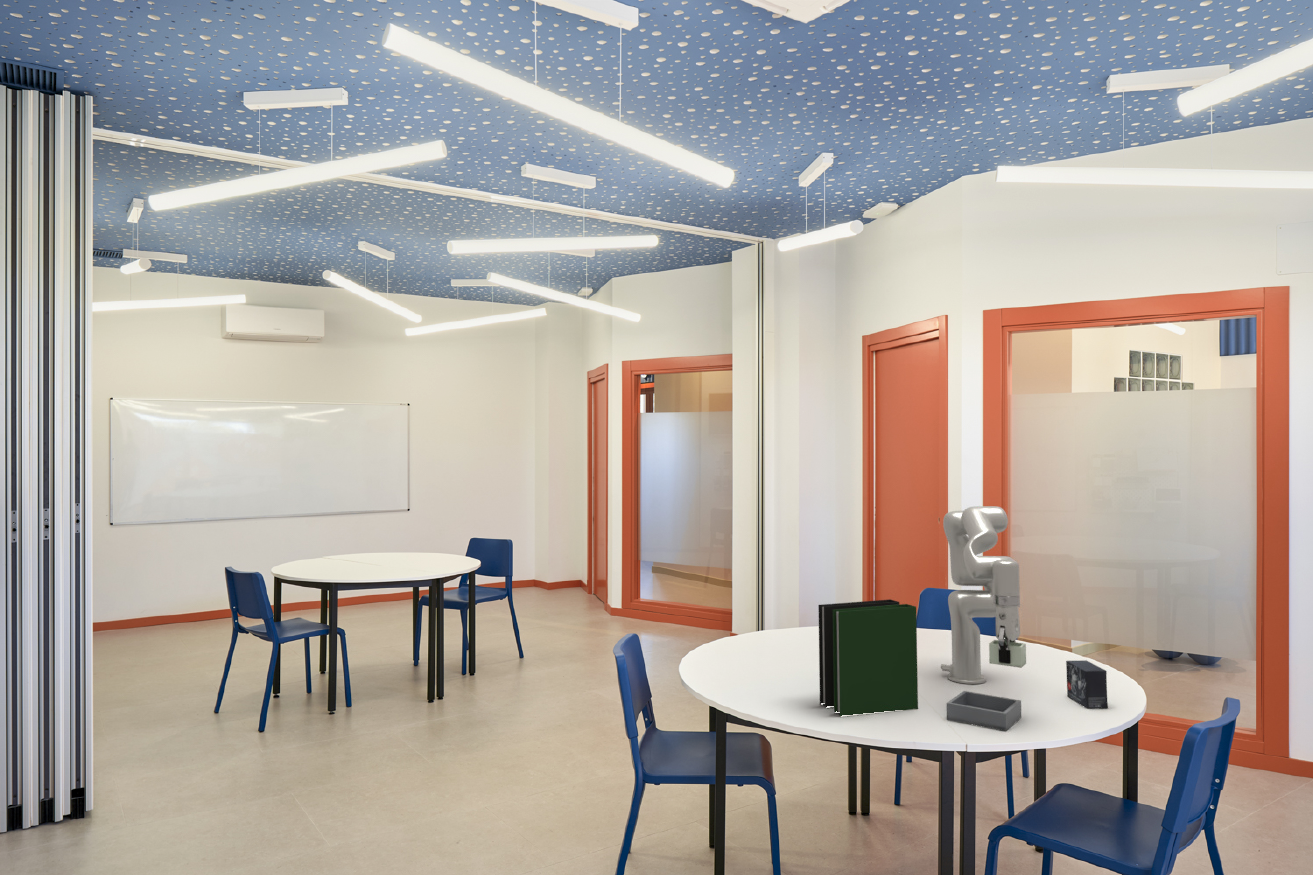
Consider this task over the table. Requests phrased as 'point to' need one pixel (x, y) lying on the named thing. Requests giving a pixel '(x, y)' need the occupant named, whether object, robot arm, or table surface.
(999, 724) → the big crate
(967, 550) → the robot arm
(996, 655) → the small crate
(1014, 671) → the table surface
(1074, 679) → the small box
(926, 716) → the table surface
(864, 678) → the binder
